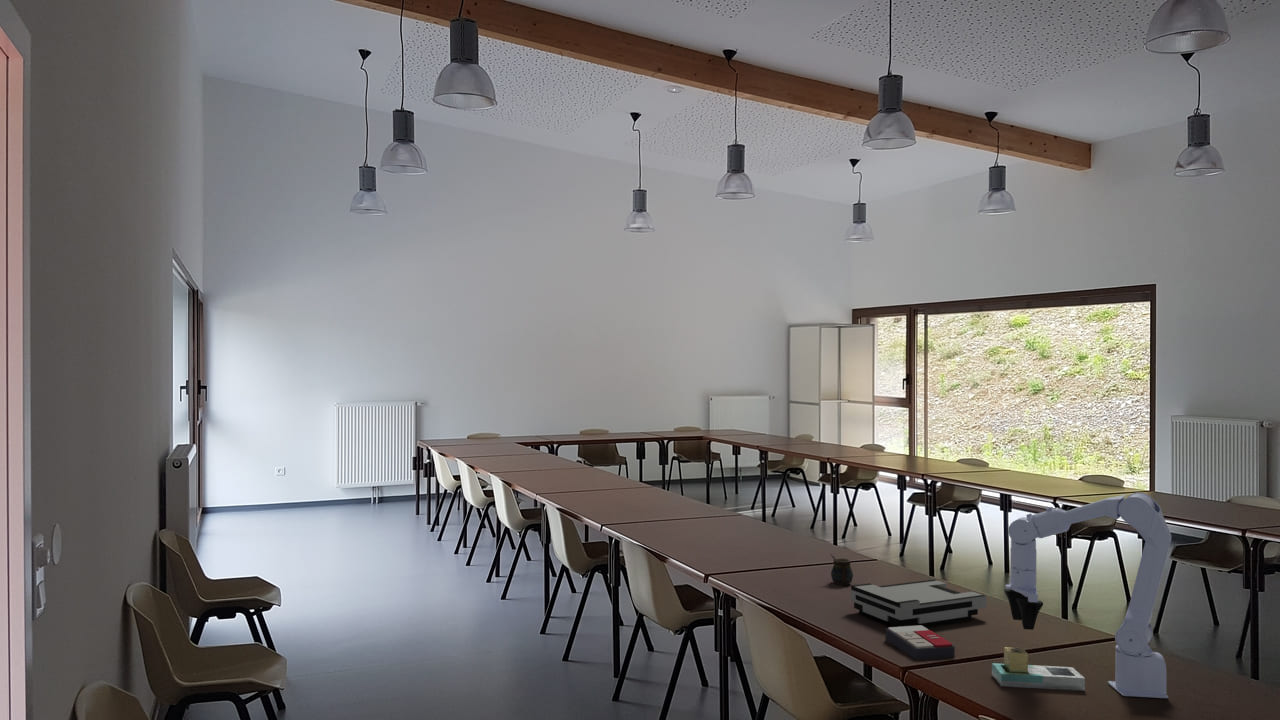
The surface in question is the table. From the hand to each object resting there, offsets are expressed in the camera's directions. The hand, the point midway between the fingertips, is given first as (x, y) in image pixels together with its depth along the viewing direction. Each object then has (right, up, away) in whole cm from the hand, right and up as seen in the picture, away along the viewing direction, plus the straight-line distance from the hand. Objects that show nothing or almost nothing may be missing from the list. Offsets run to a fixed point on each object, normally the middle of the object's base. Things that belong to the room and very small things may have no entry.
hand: (1022, 624), depth 203 cm
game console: (-11, -11, +42) cm, 45 cm away
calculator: (-21, -11, +13) cm, 27 cm away
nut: (-6, -9, -9) cm, 14 cm away
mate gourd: (-25, -11, +78) cm, 83 cm away
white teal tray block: (-1, -10, -10) cm, 14 cm away
